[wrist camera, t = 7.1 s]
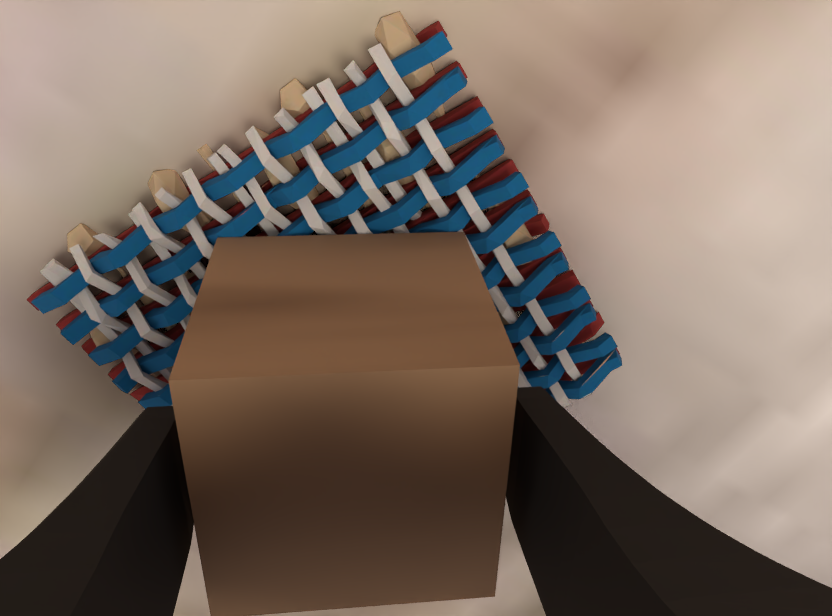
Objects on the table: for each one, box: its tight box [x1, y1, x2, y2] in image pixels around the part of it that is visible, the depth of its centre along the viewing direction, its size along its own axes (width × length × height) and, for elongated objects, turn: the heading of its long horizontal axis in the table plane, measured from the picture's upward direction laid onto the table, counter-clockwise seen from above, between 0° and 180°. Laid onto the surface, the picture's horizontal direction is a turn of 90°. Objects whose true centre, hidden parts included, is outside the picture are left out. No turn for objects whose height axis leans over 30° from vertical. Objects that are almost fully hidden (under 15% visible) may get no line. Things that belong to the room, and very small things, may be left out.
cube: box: [168, 232, 520, 616], centre depth 14 cm, size 5×5×5 cm
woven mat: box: [27, 11, 622, 409], centre depth 17 cm, size 10×11×2 cm
